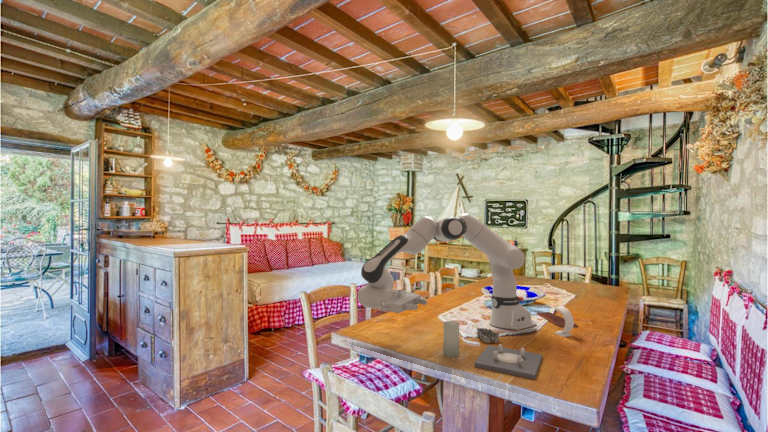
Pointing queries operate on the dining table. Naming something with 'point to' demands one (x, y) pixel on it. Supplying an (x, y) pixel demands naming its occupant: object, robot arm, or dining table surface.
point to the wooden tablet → (554, 319)
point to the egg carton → (487, 335)
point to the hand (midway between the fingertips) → (421, 305)
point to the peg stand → (510, 361)
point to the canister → (451, 339)
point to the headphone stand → (568, 321)
